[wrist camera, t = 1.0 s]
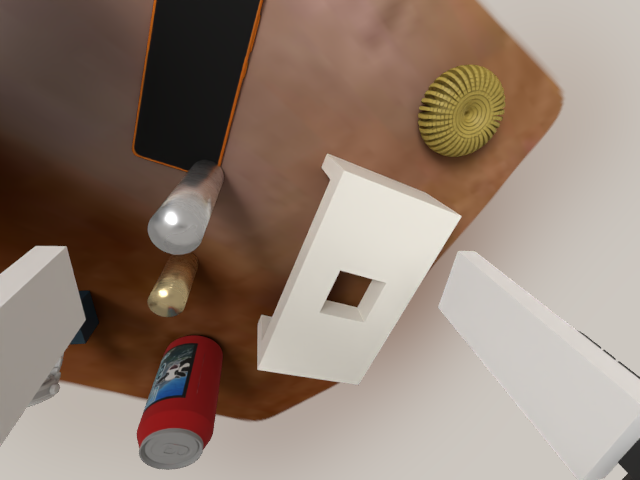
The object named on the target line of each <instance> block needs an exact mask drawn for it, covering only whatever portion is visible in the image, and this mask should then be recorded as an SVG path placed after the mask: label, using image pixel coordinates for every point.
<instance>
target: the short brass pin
mask: <svg viewBox="0 0 640 480" xmlns="http://www.w3.org/2000/svg"><path fill="white" fill-rule="evenodd" d="M198 265H199V261H198V259H197V257H196V256H195V255H194V254H193V253H191V252H190V253H187V254H182V255H175V254H171V256H170V257H169V259H168V261H167V263H166V265H165V267H164V269H163V271H162V273H161V275H160V277H159V278H158V280H157V282H156V284H155V286H154V288H153V290H152V292H151V294H150V296H149V298H148V306H149V308H150V309H151V311H152V312H154V313H155V314H157V315H159V316H163V317H173V316H176V315H178V314H180V313H181V312H182V311H183V310H184V307H185V305H186V302H187V299H188V296H189V293H190V290H191V287H192V284H193V281H194V278H195V275H196V272H197V269H198Z"/></svg>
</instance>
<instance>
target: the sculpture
mask: <svg viewBox="0 0 640 480" xmlns="http://www.w3.org/2000/svg"><path fill="white" fill-rule="evenodd" d="M443 84H444V85H443ZM433 89H435V91H434V90H433ZM479 90H480V91H479ZM503 94H504V90H503V88H502V84H501V82H500V81H499V80H498V78H497V77H496V75H494V74H493V73H492V72H491V71H489V70H487V69H486V68H483V67H480V66H478V65H464V66H459V67H458V66H457V67H456V68H452V69H450V70H448V71H447V72H445V73H443V74H442V75H441V76H440V77H438V78H437V79H436V80H435V81H434V83H433V84H431V85H430V87H429V90H428V91H426V93H425V97H426V98H427V99H426V98H423V99H422V101H421V102H422V103H423V104H425V105H428V106H431V107H425V106H420V108H419V110H426V111H431V112H423V113H422V112H421V113H418V117H419V118H422V119H419V120H418V125H420V126H419V130H420V132H421V136H422V138H423V139H424V142H425V143H426V144H427V145H428V146H429V148H430V149H432V150H434V152H436V153H439V154H441V155H443V156H449V157H452V156H453V157H459V156H465V155H467V154H470V153H473V152H475V151H476V150H477V149H480V148H481V147H482V146H483V145H485V144H486V143H487V142H488V141H489V140H490V139H491V138H492V136H493V135H494V134H495V133H496V131H497V130H496V128H499V126H500V123H498V122H496V121H493V120H499V121H502V118H503V117H498V116H492V115H502V114H504V109H502V108H503V107H505V102H504V100H505V95H503ZM431 96H433V98H432V97H431ZM434 98H435V99H436V100H435V99H434ZM498 105H499V106H498ZM432 107H434V108H432ZM432 111H433V112H432ZM428 119H430V120H428ZM479 119H480V120H479ZM491 119H492V120H491ZM426 120H428V121H426ZM424 121H426V122H424ZM425 126H426V127H425ZM424 127H425V128H424ZM495 127H496V128H495ZM423 128H424V129H423ZM425 134H426V135H425ZM441 137H442V138H441ZM445 146H447V147H445Z"/></svg>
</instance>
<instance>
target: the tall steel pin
mask: <svg viewBox="0 0 640 480" xmlns="http://www.w3.org/2000/svg"><path fill="white" fill-rule="evenodd" d="M223 181H224V172H223V170H222V168H221V166H219V165H217V164H216V163H215V162H212V161H210V160H201V161H198V162H196V163H195V164H194V165H193V166H192V168H191V169H190V170H189V171H188V173H187V174H186V175H185V176H184V178H183V179H182V180H181V181H180V183H179V184H178V185H177V186H176V188H175V189H174V190H173V191H172V193H171V194H170V195H169V196H168V198H167V199H166V200H165V201H164V203H163V204H162V205H161V206H160V208H159V209H158V210H157V211H156V213H155V214H154V215H153V216H152V218H151V219H150V221H149V224H148V234H149V237H150V239H151V241H152V242H153V243H154V245H155V246H157V247H158V248H159V249H160V250H162V251H164V252H167V253H170V254H175V255H182V254H187V253H190V252H192V251H193V250H195V249H196V248H197V247H198V246H199V245H200V243H201V241H202V238H203V235H204V233H205V230H206V227H207V224H208V222H209V219H210V216H211V213H212V211H213V208H214V205H215V203H216V200H217V197H218V194H219V192H220V189H221V186H222V183H223Z"/></svg>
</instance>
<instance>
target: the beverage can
mask: <svg viewBox="0 0 640 480" xmlns="http://www.w3.org/2000/svg"><path fill="white" fill-rule="evenodd" d="M222 360H223V353H222V350H221V348H220V346H219V345H218V344H217V343H216V342H214V341H213V340H211V339H209V338H207V337H203V336H196V335H192V336H185V337H181V338H179V339H177V340H175V341H173V342H172V343H171V344H170V345H169V346H168V347H167V349H166V351H165V353H164V356H163V359H162V361H161V364H160V367H159V370H158V372H157V375H156V378H155V381H154V383H153V386H152V389H151V392H150V395H149V398H148V400H147V403H146V406H145V409H144V412H143V415H142V418H141V421H140V424H139V427H138V430H137V440H138V444H139V448H140V449H139V455H140V458H141V460H142V461H143V462H145V463H146V464H147V465H149V466H151V467H154V468H158V469H168V470H169V469H178V468H182V467H186V466H188V465H190V464H192V463H194V462H195V461H196V460H198V459H199V457H200V456H201V454H202V451H203V449H204V448H205V446H206V445H207V444H208V442H209V441H210V439H211V437H212V434H213V428H214V421H215V414H216V407H217V400H218V393H219V385H220V377H221V368H222Z"/></svg>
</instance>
